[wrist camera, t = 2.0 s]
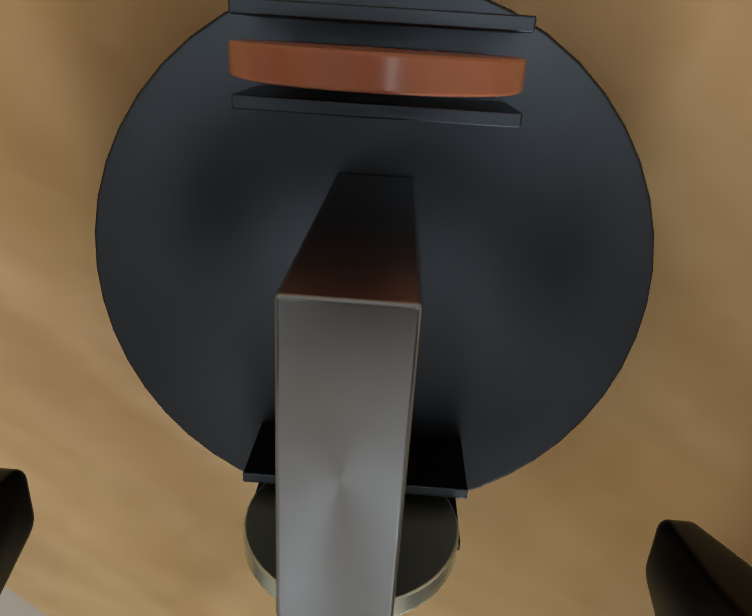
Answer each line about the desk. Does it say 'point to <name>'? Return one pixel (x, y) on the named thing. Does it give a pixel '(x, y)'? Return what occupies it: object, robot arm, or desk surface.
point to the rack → (372, 271)
